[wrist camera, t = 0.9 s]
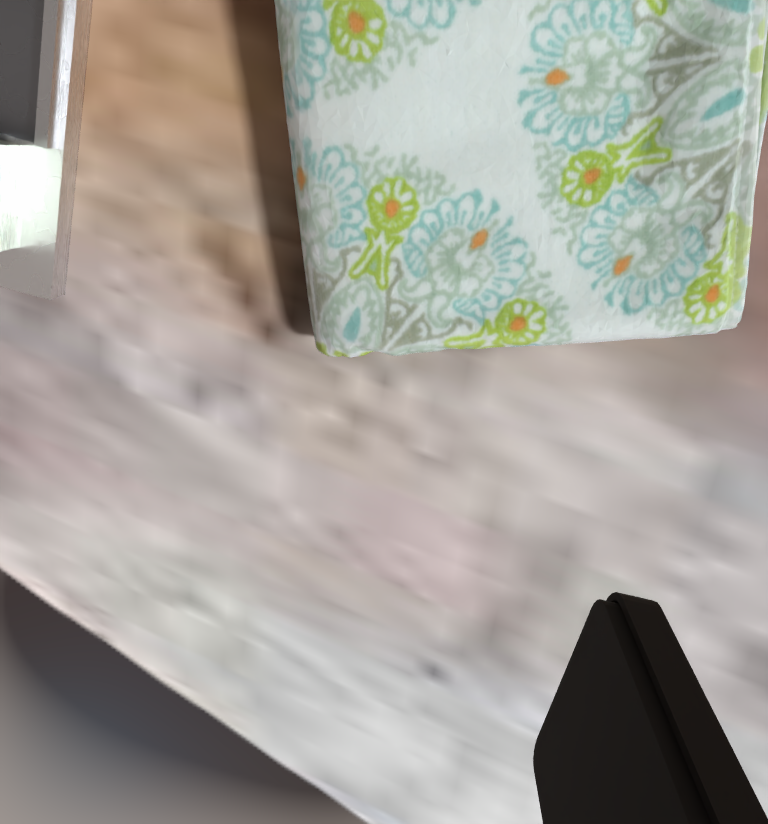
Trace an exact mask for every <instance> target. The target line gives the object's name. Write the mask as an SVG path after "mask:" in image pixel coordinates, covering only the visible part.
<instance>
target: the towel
mask: <svg viewBox="0 0 768 824" xmlns="http://www.w3.org/2000/svg"><path fill="white" fill-rule="evenodd" d="M274 2H275V9H276V23H277V32H278V43H279V52H280V64H281V71H282V83H283V90H284V98H285V107H286V115H287V126H288V132H289V142H290V150H291V161H292V171H293V178H294V185H295V194H296V203H297V211H298V218H299V225H300V235H301V244H302V251H303V260H304V269H305V275H306V285H307V294H308V300H309V306H310V315H311V322H312V327H313V332H314V337H315V343H316V347H317V349H318V351H319V352H321V353H323V354H325V355H328V356H331V357H339V356H345V357H349V358H351V357H356V356H363V355H366V354H368V353H370V352H373V351H377V352H382V353H385V354H389V355H397V356H399V355H405V354H411V353H418V352H435V351H440V350H444V349H483V348H493V347H518V346H534V345H535V346H542V345H561V344H571V343H590V342H603V341H619V340H629V339H646V338H668V337H677V336H688V335H702V334H713V333H717V332H719V331H720V330H724V329H732V328H735V327H737V323H739V322H740V320H741V316H742V312H743V308H744V303H745V292H746V287H747V275H748V266H749V252H750V242H751V233H752V222H753V204H754V193H755V186H756V179H757V172H758V165H759V158H760V152H761V146H762V140H763V134H764V128H765V123H766V119H767V111H768V0H274Z"/></svg>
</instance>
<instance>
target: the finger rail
mask: <svg viewBox="0 0 768 824" xmlns="http://www.w3.org/2000/svg"><path fill="white" fill-rule="evenodd" d="M91 10H92V0H0V287H3V288H7V289H11V290H14V291H18V292H22V293H25V294H29V295H33V296H37V297H40V298H44V299H48V300H52V299H55V298H57V297H60V296H62V295H65V286H66V275H67V264H68V254H69V243H70V233H71V222H72V211H73V201H74V190H75V180H76V169H77V158H78V148H79V137H80V127H81V116H82V105H83V95H84V84H85V74H86V63H87V52H88V42H89V31H90V21H91Z"/></svg>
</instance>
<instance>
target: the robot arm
mask: <svg viewBox="0 0 768 824" xmlns="http://www.w3.org/2000/svg"><path fill="white" fill-rule="evenodd" d="M533 765H534V773H535V779H536V785H537V791H538V796H539V802H540V808H541V814H542V820H543V824H768V818H767V816H766V814H765V812H764V811H763V809H762V807H761V805H760V803H759V801H758V799H757V797H756V795H755V793H754V791H753V789H752V787H751V785H750V783H749V781H748V779H747V777H746V775H745V773H744V771H743V769H742V767H741V765H740V763H739V761H738V759H737V757H736V755H735V753H734V751H733V749H732V747H731V745H730V743H729V741H728V739H727V737H726V735H725V733H724V731H723V729H722V727H721V725H720V723H719V721H718V719H717V717H716V715H715V713H714V712H713V710H712V708H711V706H710V704H709V702H708V700H707V698H706V696H705V694H704V692H703V690H702V688H701V686H700V684H699V682H698V680H697V678H696V676H695V674H694V672H693V670H692V668H691V666H690V664H689V662H688V660H687V658H686V656H685V654H684V652H683V650H682V648H681V646H680V644H679V642H678V640H677V638H676V636H675V634H674V632H673V630H672V628H671V626H670V624H669V622H668V620H667V618H666V616H665V614H664V613H663V611H662V609H661V607H660V605H659V604H658V603H657V602H655V601H652V600H648V599H644V598H639V597H635V596H631V595H626V594H622V593H617V592H615V593H612V594H611V595H610V596H609V597H608V598H607V600H606V601H605V600H601V599H599V600H597V601H596V602H595V603H594V604H593V606H592V608H591V610H590V613H589V615H588V618H587V620H586V622H585V625H584V627H583V630H582V632H581V634H580V637H579V639H578V642H577V644H576V646H575V649H574V651H573V654H572V656H571V658H570V661H569V663H568V666H567V668H566V670H565V673H564V675H563V678H562V680H561V682H560V685H559V687H558V690H557V692H556V694H555V697H554V699H553V702H552V704H551V706H550V709H549V711H548V714H547V716H546V718H545V721H544V723H543V726H542V728H541V730H540V733H539V735H538V738H537V740H536V744H535V749H534V757H533Z"/></svg>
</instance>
